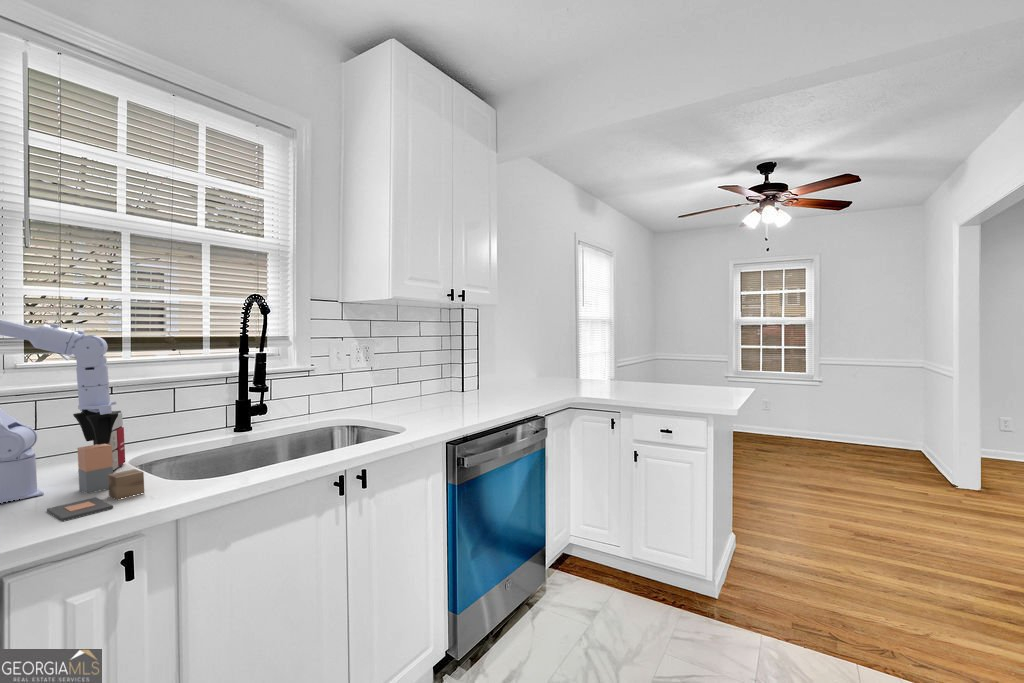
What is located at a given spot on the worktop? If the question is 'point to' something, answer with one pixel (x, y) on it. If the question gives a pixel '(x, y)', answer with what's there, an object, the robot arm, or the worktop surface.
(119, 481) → the walnut block
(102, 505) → the board
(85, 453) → the terracotta block
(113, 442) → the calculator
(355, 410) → the worktop surface
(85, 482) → the slate block
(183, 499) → the worktop surface
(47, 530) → the worktop surface
